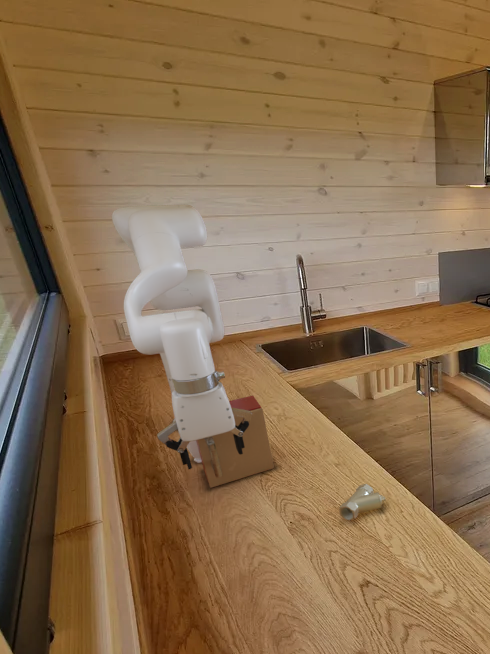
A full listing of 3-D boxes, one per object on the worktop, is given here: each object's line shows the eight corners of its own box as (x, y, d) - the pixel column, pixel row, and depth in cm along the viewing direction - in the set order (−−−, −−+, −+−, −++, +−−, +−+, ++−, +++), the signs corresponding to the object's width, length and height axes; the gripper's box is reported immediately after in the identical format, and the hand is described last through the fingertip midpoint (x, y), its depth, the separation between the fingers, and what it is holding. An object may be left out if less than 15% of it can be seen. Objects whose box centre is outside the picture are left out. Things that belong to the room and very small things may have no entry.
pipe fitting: (388, 504, 104) (360, 496, 105) (388, 489, 102) (359, 481, 104) (369, 527, 97) (339, 518, 98) (369, 512, 95) (338, 503, 97)
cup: (189, 468, 117) (180, 439, 114) (186, 450, 125) (178, 422, 122) (220, 460, 121) (213, 431, 117) (216, 443, 128) (209, 415, 125)
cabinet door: (281, 479, 112) (269, 418, 106) (215, 501, 105) (198, 437, 98) (273, 466, 117) (261, 407, 111) (209, 486, 110) (193, 424, 104)
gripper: (239, 367, 102) (254, 439, 109) (143, 387, 93) (166, 464, 100) (247, 378, 96) (262, 453, 103) (145, 400, 88) (169, 481, 94)
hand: (215, 458), depth 101 cm, fingers open, 9 cm apart
